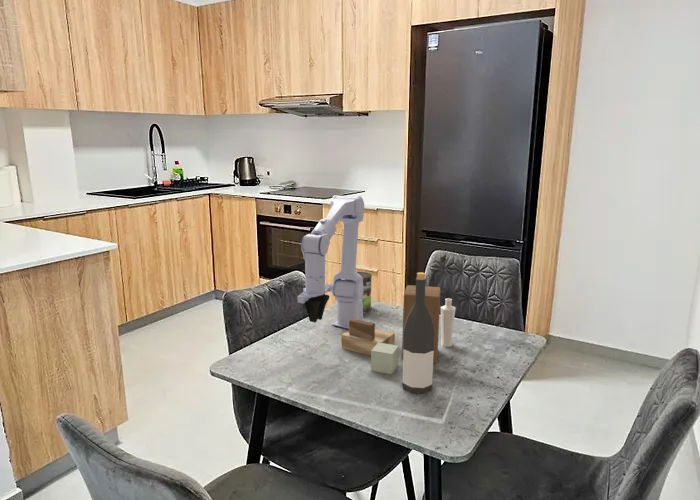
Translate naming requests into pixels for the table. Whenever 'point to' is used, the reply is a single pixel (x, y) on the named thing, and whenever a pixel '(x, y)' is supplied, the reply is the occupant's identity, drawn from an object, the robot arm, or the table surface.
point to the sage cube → (384, 358)
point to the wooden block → (432, 305)
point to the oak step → (364, 345)
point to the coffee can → (366, 291)
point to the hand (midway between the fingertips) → (315, 320)
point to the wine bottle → (418, 344)
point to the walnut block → (362, 330)
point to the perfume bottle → (447, 323)
